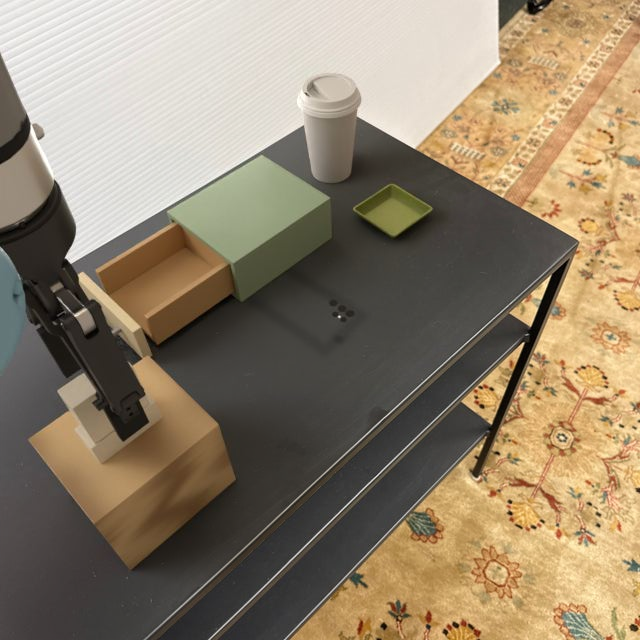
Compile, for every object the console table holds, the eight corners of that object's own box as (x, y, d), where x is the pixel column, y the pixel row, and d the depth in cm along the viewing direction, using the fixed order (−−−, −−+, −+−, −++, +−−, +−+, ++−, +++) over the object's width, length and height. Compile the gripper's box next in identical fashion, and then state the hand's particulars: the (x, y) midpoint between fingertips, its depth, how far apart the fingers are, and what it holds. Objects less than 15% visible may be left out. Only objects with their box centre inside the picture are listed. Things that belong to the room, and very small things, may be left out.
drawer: (116, 381, 80) (101, 353, 75) (60, 323, 86) (44, 294, 81) (244, 290, 88) (239, 260, 84) (186, 244, 95) (177, 213, 90)
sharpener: (101, 464, 60) (68, 414, 53) (84, 444, 61) (50, 392, 54) (162, 418, 63) (139, 364, 56) (145, 399, 64) (120, 345, 57)
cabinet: (241, 302, 88) (233, 263, 82) (177, 251, 95) (166, 211, 89) (332, 237, 96) (330, 197, 90) (267, 194, 103) (261, 154, 97)
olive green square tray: (351, 218, 98) (351, 208, 97) (391, 192, 102) (391, 182, 100) (393, 247, 94) (393, 236, 92) (433, 218, 97) (434, 208, 96)
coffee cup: (299, 156, 109) (293, 73, 97) (356, 150, 109) (356, 67, 97) (305, 192, 103) (299, 108, 91) (364, 186, 103) (366, 101, 91)
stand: (130, 570, 66) (93, 524, 56) (69, 492, 71) (27, 439, 62) (236, 479, 72) (219, 424, 62) (172, 414, 77) (147, 354, 68)
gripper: (145, 251, 37) (212, 445, 54) (-24, 108, 47) (79, 310, 64) (24, 325, 33) (137, 506, 51) (-128, 155, 44) (9, 354, 61)
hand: (104, 397), depth 57 cm, fingers open, 9 cm apart
